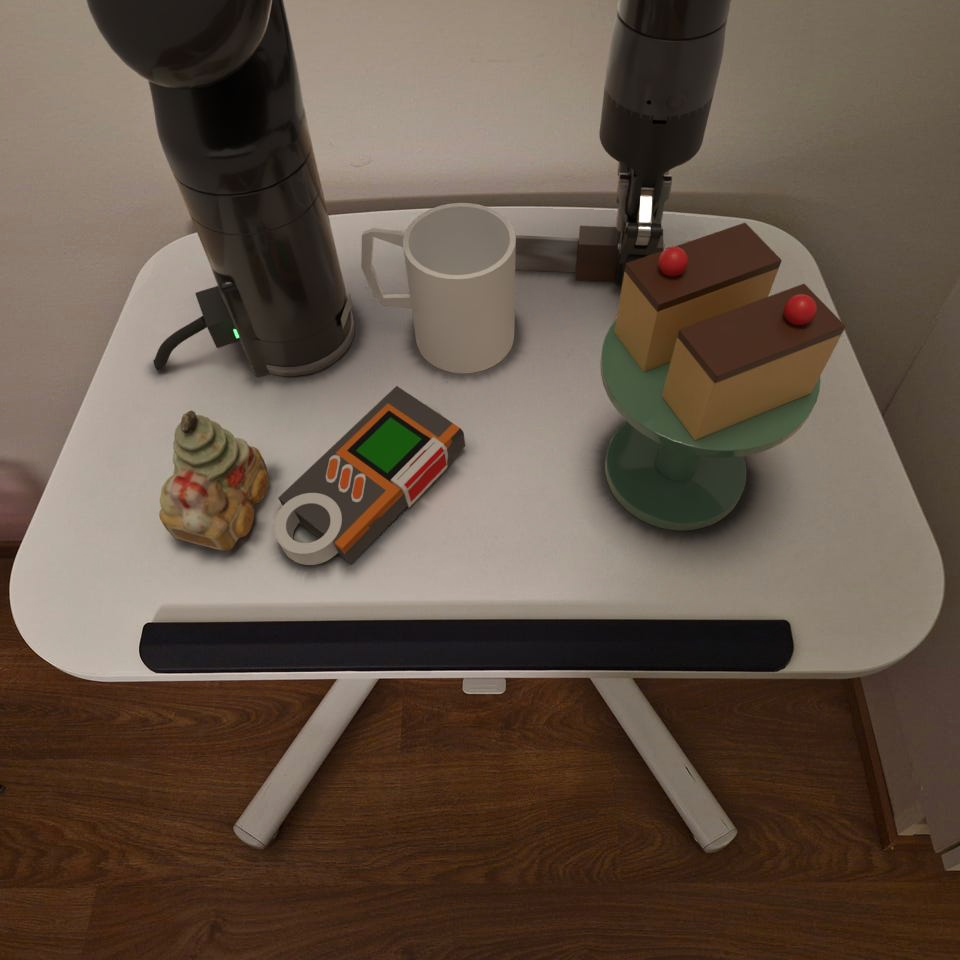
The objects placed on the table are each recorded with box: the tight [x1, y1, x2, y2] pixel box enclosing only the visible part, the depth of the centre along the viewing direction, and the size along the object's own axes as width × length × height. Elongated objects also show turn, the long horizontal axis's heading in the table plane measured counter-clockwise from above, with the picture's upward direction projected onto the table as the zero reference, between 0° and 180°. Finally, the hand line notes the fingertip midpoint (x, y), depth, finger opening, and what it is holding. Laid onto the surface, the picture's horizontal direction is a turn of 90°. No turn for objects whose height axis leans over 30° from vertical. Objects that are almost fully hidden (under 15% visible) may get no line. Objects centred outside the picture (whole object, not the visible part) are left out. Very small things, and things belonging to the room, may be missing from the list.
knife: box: [515, 225, 665, 283], centre depth 67 cm, size 15×2×4 cm, turn 84°
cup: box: [360, 202, 516, 374], centre depth 61 cm, size 8×12×10 cm
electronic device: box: [273, 385, 466, 566], centre depth 56 cm, size 7×3×15 cm
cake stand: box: [599, 317, 822, 531], centre depth 52 cm, size 13×13×12 cm
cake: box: [614, 222, 846, 440], centre depth 44 cm, size 8×9×7 cm
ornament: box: [158, 410, 270, 552], centre depth 52 cm, size 8×6×10 cm
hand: (627, 271), depth 68 cm, fingers closed on knife, 2 cm apart
